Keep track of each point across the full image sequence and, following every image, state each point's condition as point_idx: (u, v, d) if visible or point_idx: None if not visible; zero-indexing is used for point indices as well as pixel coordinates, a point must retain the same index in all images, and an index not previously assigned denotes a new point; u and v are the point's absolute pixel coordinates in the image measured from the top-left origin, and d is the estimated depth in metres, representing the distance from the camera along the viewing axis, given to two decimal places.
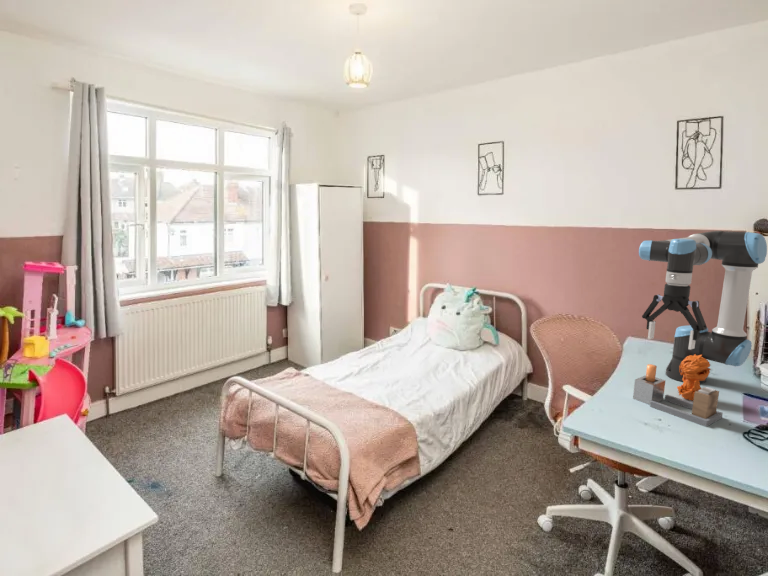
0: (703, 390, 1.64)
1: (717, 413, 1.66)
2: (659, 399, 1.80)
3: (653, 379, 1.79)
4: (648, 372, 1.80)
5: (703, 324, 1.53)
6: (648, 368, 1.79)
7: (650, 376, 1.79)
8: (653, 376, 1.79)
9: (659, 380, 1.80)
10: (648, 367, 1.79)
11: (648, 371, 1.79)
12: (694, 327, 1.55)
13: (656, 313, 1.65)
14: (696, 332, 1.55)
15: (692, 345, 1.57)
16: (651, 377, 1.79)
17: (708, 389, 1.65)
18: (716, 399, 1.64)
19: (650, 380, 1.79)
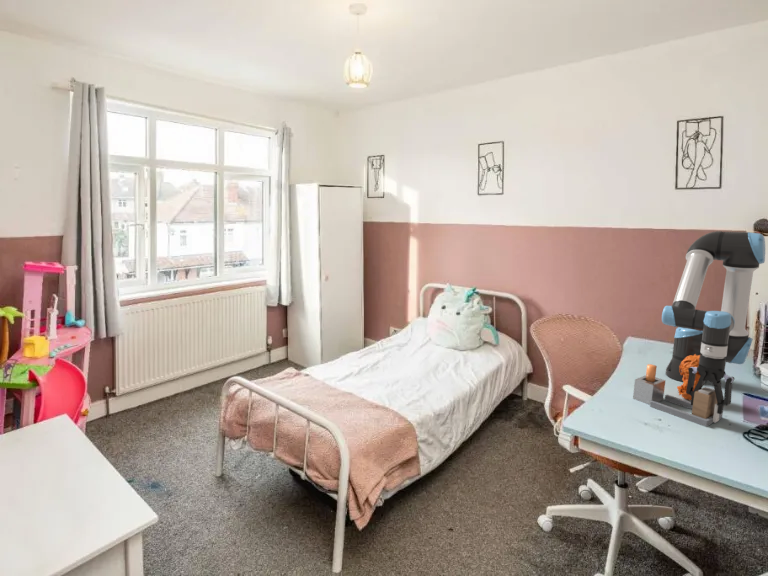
0: (703, 390, 1.64)
1: None
2: (659, 399, 1.80)
3: (653, 379, 1.79)
4: (648, 372, 1.80)
5: (729, 400, 1.59)
6: (648, 368, 1.79)
7: (650, 376, 1.79)
8: (653, 376, 1.79)
9: (659, 380, 1.80)
10: (648, 367, 1.79)
11: (648, 371, 1.79)
12: (719, 401, 1.60)
13: (697, 387, 1.66)
14: (720, 406, 1.61)
15: (716, 418, 1.62)
16: (651, 377, 1.79)
17: (708, 389, 1.65)
18: (716, 399, 1.64)
19: (650, 380, 1.79)
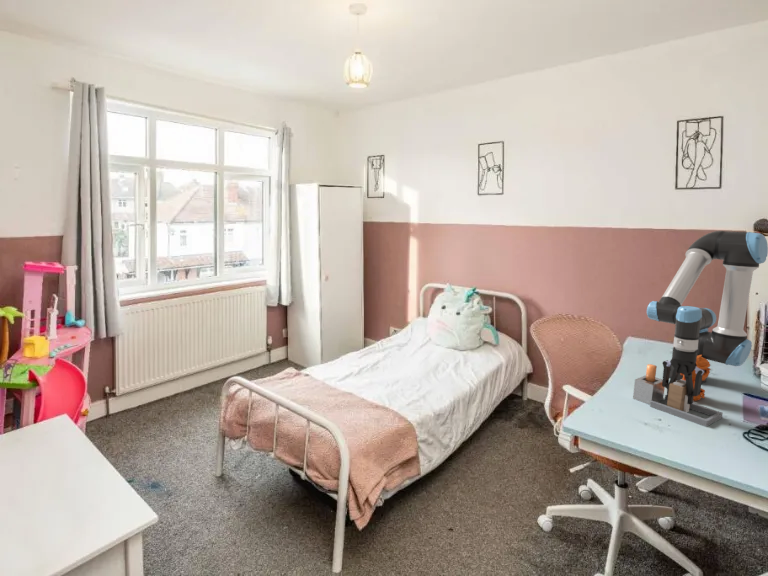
0: (678, 382, 1.71)
1: (717, 413, 1.66)
2: (659, 399, 1.80)
3: (653, 379, 1.79)
4: (648, 372, 1.80)
5: (698, 391, 1.67)
6: (648, 368, 1.79)
7: (650, 376, 1.79)
8: (653, 376, 1.79)
9: (659, 380, 1.80)
10: (648, 367, 1.79)
11: (648, 371, 1.79)
12: (689, 392, 1.68)
13: (672, 380, 1.73)
14: (690, 397, 1.69)
15: (687, 408, 1.70)
16: (651, 377, 1.79)
17: (682, 381, 1.72)
18: None
19: (650, 380, 1.79)
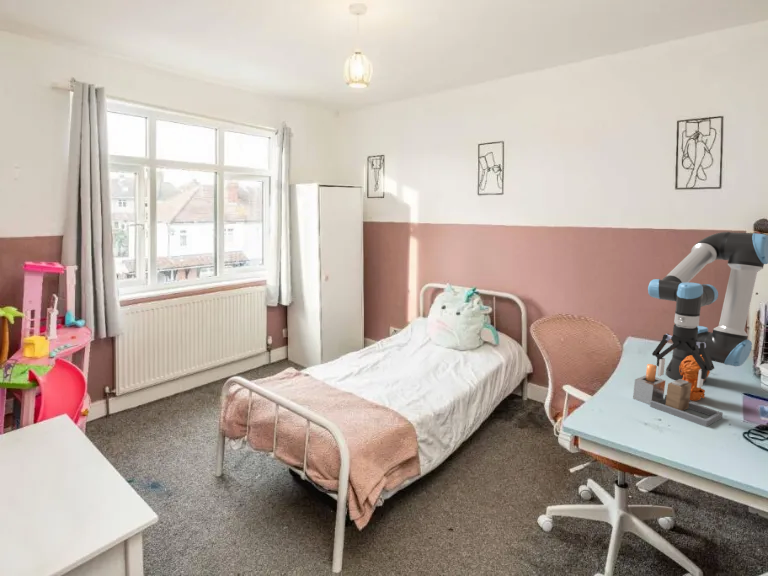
0: (676, 382, 1.71)
1: (717, 413, 1.66)
2: (659, 399, 1.80)
3: (653, 379, 1.79)
4: (648, 372, 1.80)
5: (711, 364, 1.63)
6: (648, 368, 1.79)
7: (650, 376, 1.79)
8: (653, 376, 1.79)
9: (659, 380, 1.80)
10: (648, 367, 1.79)
11: (648, 371, 1.79)
12: (702, 367, 1.64)
13: (666, 351, 1.74)
14: (704, 372, 1.64)
15: (700, 383, 1.66)
16: (651, 377, 1.79)
17: (681, 381, 1.72)
18: (689, 390, 1.72)
19: (650, 380, 1.79)
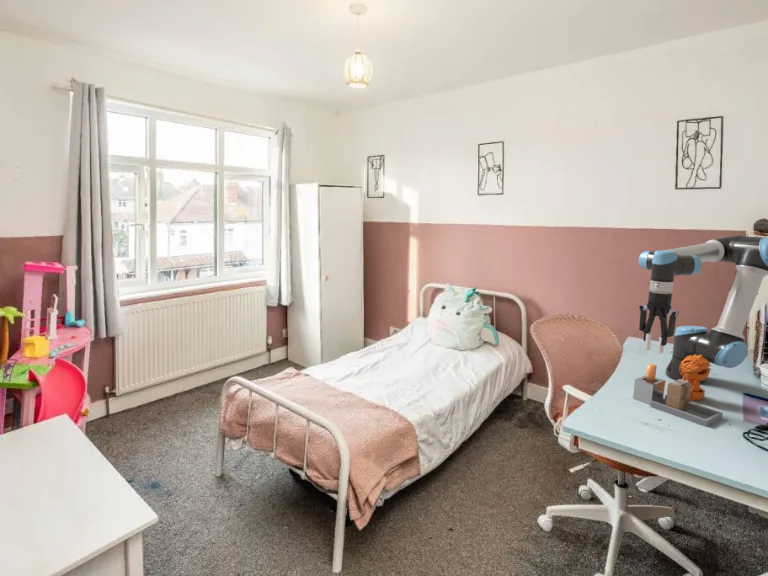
0: (676, 382, 1.71)
1: (717, 413, 1.66)
2: (659, 399, 1.80)
3: (653, 379, 1.79)
4: (648, 372, 1.80)
5: (671, 332, 1.72)
6: (648, 368, 1.79)
7: (650, 376, 1.79)
8: (653, 376, 1.79)
9: (659, 380, 1.80)
10: (648, 367, 1.79)
11: (648, 371, 1.79)
12: (663, 334, 1.74)
13: (648, 323, 1.78)
14: (664, 338, 1.74)
15: (661, 350, 1.76)
16: (651, 377, 1.79)
17: (681, 381, 1.72)
18: (689, 390, 1.72)
19: (650, 380, 1.79)
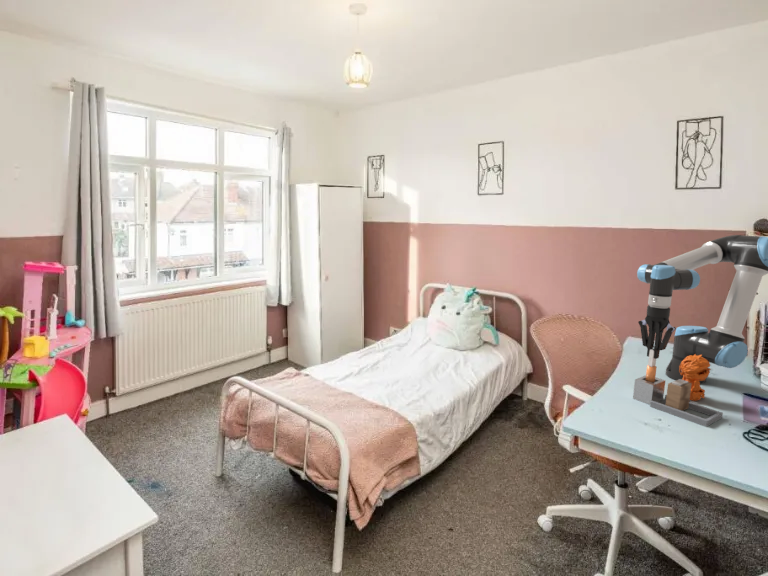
0: (676, 382, 1.71)
1: (717, 413, 1.66)
2: (659, 399, 1.80)
3: (653, 379, 1.79)
4: (648, 372, 1.80)
5: (664, 346, 1.75)
6: (648, 368, 1.79)
7: (650, 376, 1.79)
8: (653, 376, 1.79)
9: (659, 380, 1.80)
10: (648, 367, 1.79)
11: (648, 371, 1.80)
12: (656, 347, 1.76)
13: (650, 338, 1.78)
14: (656, 351, 1.77)
15: (653, 363, 1.79)
16: (651, 377, 1.79)
17: (681, 381, 1.72)
18: (689, 390, 1.72)
19: (650, 380, 1.79)
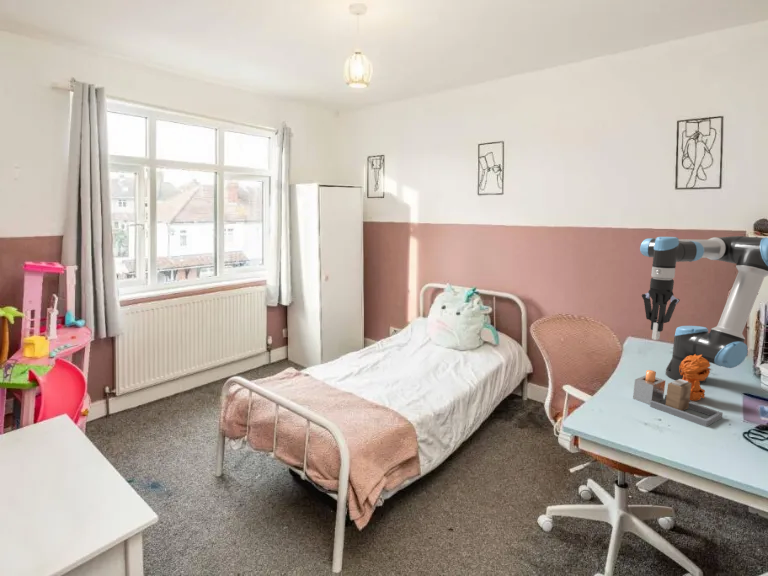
0: (676, 382, 1.71)
1: (717, 413, 1.66)
2: (659, 399, 1.80)
3: None
4: (647, 378, 1.80)
5: (668, 318, 1.73)
6: (647, 374, 1.80)
7: None
8: (652, 382, 1.79)
9: (659, 380, 1.80)
10: (647, 373, 1.80)
11: (647, 377, 1.80)
12: (660, 320, 1.75)
13: (653, 311, 1.76)
14: (660, 324, 1.75)
15: (657, 336, 1.77)
16: None
17: (681, 381, 1.72)
18: (689, 390, 1.72)
19: None
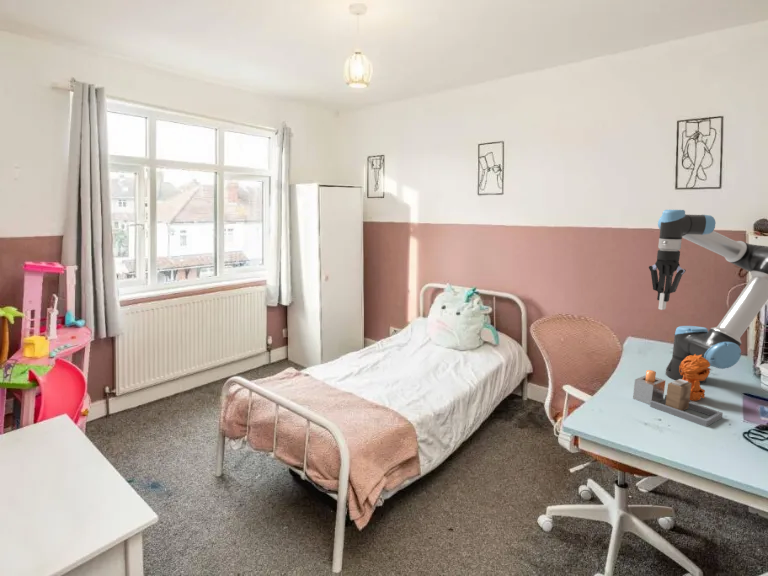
0: (676, 382, 1.71)
1: (717, 413, 1.66)
2: (659, 399, 1.80)
3: None
4: (647, 378, 1.80)
5: (674, 288, 1.79)
6: (647, 374, 1.80)
7: None
8: (652, 382, 1.79)
9: (659, 380, 1.80)
10: (647, 373, 1.80)
11: (647, 377, 1.80)
12: (666, 290, 1.81)
13: (660, 281, 1.83)
14: (666, 294, 1.81)
15: (663, 306, 1.83)
16: None
17: (681, 381, 1.72)
18: (689, 390, 1.72)
19: None
